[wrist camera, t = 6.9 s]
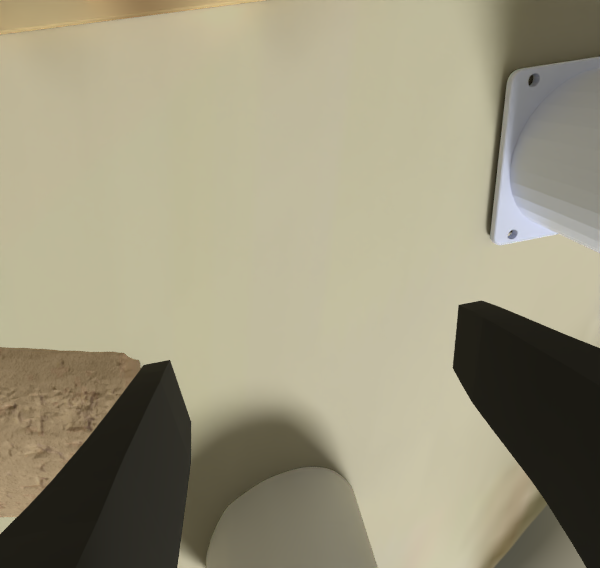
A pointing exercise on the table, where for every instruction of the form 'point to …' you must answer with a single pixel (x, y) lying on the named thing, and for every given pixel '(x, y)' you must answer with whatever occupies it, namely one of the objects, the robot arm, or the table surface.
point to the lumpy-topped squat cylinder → (293, 525)
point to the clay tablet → (51, 413)
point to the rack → (89, 11)
